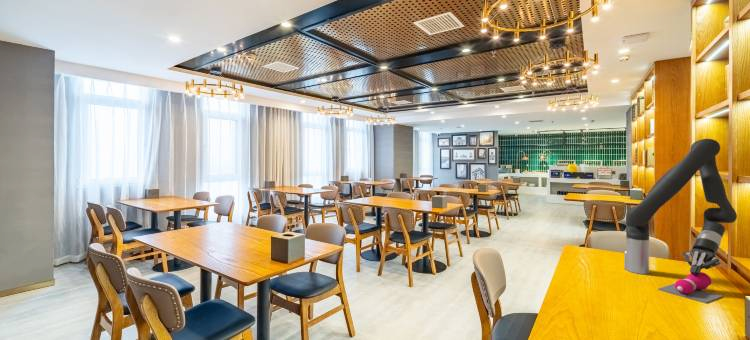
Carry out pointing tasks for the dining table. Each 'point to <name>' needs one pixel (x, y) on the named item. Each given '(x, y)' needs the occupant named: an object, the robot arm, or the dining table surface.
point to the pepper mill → (693, 283)
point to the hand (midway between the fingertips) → (693, 273)
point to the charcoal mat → (692, 294)
